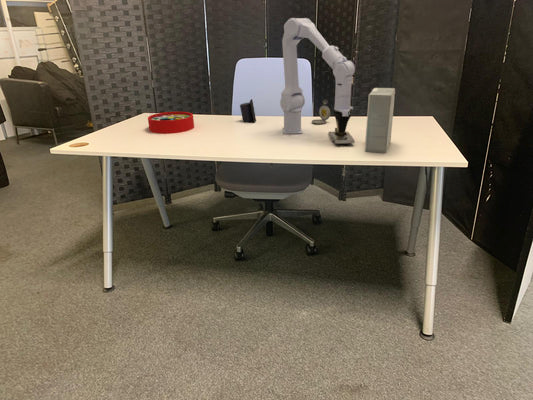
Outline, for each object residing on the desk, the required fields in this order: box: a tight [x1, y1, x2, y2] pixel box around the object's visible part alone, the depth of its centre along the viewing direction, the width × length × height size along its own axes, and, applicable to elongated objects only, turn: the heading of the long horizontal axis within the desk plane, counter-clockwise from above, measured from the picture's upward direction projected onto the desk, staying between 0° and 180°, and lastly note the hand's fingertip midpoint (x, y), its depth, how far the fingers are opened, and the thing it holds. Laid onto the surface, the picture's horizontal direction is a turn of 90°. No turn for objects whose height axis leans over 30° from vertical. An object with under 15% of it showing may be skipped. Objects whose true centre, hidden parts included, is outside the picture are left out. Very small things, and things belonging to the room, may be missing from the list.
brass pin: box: [336, 121, 345, 136], centre depth 151 cm, size 3×3×6 cm
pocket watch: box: [311, 99, 331, 125], centre depth 180 cm, size 8×8×10 cm
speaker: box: [239, 99, 257, 124], centre depth 186 cm, size 8×6×10 cm
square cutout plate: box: [327, 127, 355, 147], centre depth 153 cm, size 18×7×3 cm, turn 179°
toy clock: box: [147, 111, 195, 135], centre depth 178 cm, size 20×6×20 cm
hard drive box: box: [364, 87, 396, 154], centre depth 140 cm, size 16×8×20 cm, turn 159°
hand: (341, 131), depth 152 cm, fingers closed on brass pin, 3 cm apart
